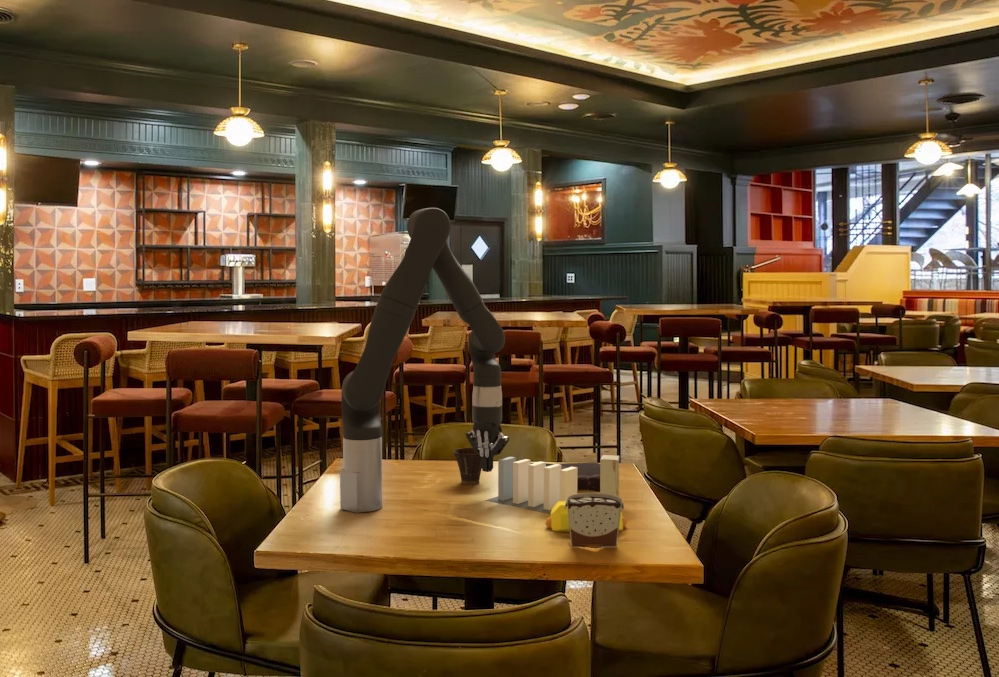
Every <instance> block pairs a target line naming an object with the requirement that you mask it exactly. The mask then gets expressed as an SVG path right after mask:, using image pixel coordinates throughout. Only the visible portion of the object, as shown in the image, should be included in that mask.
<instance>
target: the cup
mask: <svg viewBox="0 0 999 677" xmlns="http://www.w3.org/2000/svg"><path fill="white" fill-rule="evenodd" d="M484 450H485V449H484ZM453 455H454V458H455V459H456V463H457V466H458V470H459V474H460V483H461V484H463V485H467V486H471V485H472V486H473V485H479V484H480V479H481V473H482V468H481V456H480V454H478V453H475V452H474V450H473V448H472V447H461V448H456V449H454V450H453Z"/></svg>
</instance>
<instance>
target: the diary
mask: <svg viewBox="0 0 999 677" xmlns="http://www.w3.org/2000/svg"><path fill="white" fill-rule="evenodd" d="M533 463H534V462H531V464H533ZM554 464H555V463H550V462H549V463H548V462H546V467H547V466H551V465H554ZM558 464H559V465H561V470H562V469H566V468H569V467H578V470H577V492H579V491H591V492H595V493H600V463H599V462H597V461H592V462H588V461H587V462H567V463H558Z"/></svg>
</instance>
